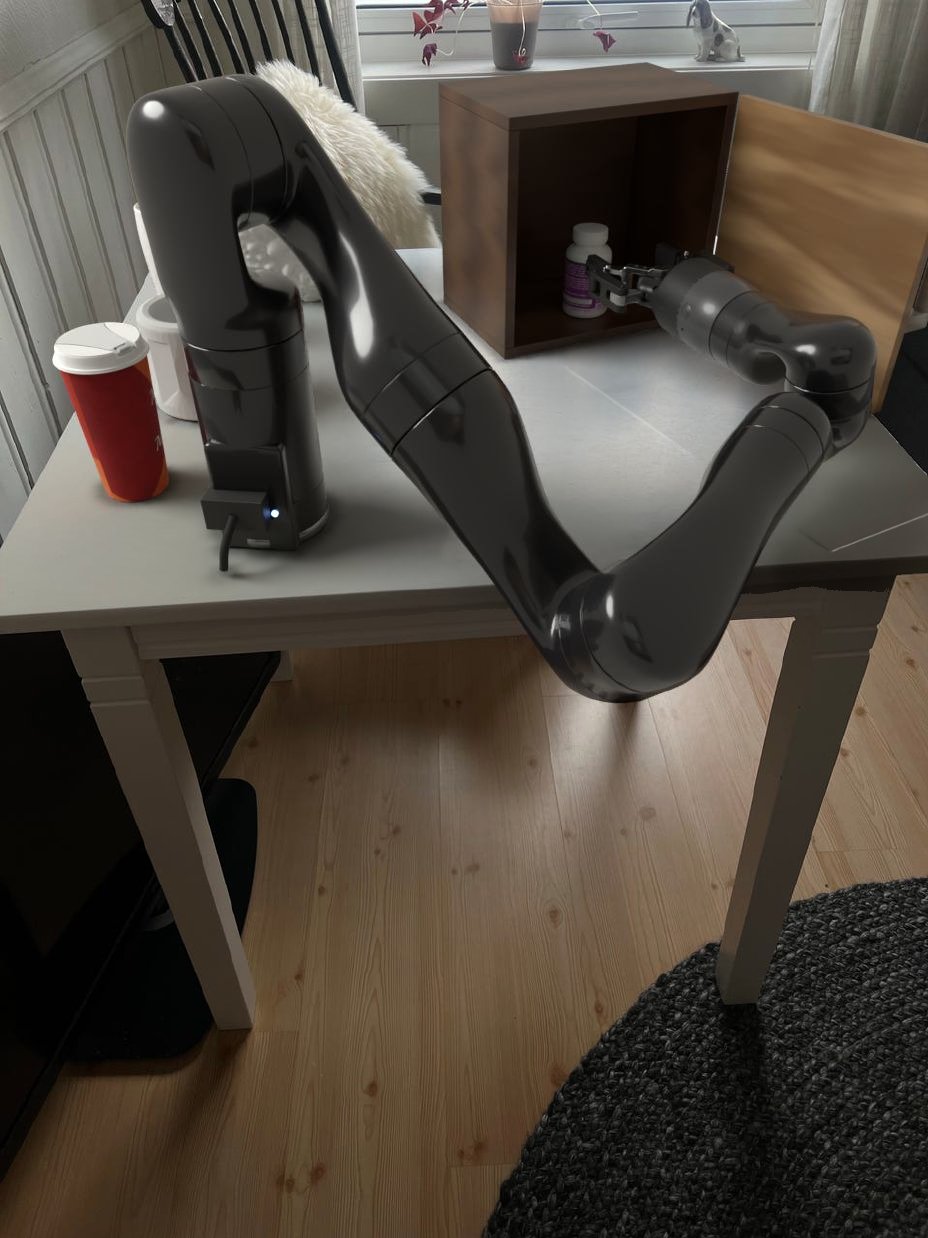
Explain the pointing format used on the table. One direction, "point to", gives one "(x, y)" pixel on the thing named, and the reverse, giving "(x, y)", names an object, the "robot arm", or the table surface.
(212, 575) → the table surface
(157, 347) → the mug
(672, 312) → the robot arm
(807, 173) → the cabinet door
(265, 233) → the cauliflower
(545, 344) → the cabinet
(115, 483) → the paper cup
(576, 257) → the pill bottle
